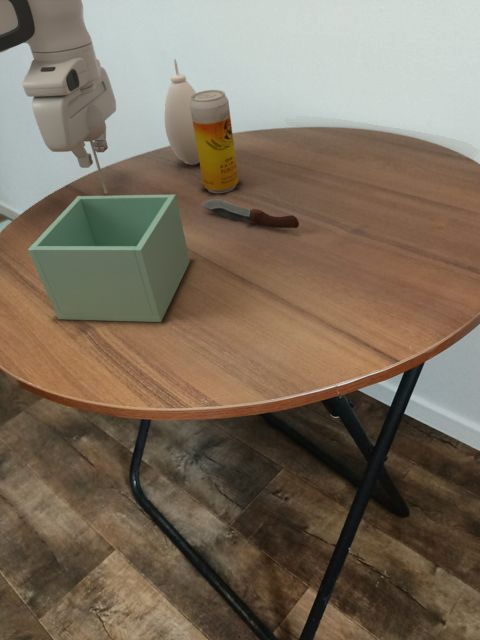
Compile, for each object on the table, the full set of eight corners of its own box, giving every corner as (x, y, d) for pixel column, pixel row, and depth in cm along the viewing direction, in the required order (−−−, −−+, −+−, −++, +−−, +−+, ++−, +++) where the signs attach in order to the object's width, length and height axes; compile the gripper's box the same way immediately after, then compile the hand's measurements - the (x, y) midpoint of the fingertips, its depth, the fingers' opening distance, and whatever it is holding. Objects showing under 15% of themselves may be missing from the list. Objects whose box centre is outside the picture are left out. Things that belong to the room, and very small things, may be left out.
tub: (58, 319, 65) (27, 249, 59) (99, 261, 75) (77, 195, 69) (161, 322, 63) (140, 249, 56) (190, 261, 73) (175, 194, 66)
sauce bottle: (182, 175, 96) (161, 67, 84) (167, 162, 102) (145, 59, 90) (220, 163, 99) (205, 57, 87) (203, 152, 104) (186, 50, 92)
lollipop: (111, 201, 89) (84, 109, 79) (82, 199, 90) (52, 108, 80) (129, 186, 93) (106, 96, 83) (101, 184, 95) (75, 96, 85)
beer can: (230, 195, 88) (217, 101, 78) (198, 193, 90) (181, 100, 80) (244, 180, 92) (233, 89, 82) (212, 178, 94) (198, 88, 84)
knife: (198, 213, 84) (195, 195, 82) (204, 209, 85) (201, 191, 83) (296, 238, 75) (295, 219, 73) (301, 233, 76) (300, 214, 74)
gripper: (77, 52, 87) (100, 136, 96) (15, 87, 72) (50, 184, 81) (112, 50, 86) (133, 135, 95) (57, 85, 71) (88, 183, 80)
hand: (94, 158), depth 88 cm, fingers closed on lollipop, 5 cm apart
